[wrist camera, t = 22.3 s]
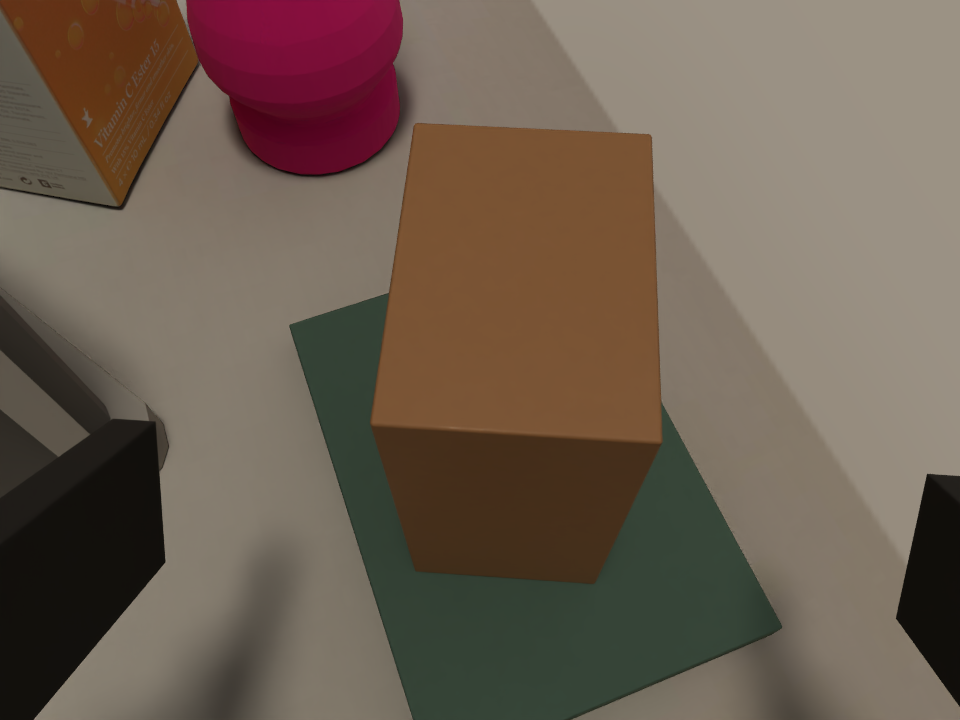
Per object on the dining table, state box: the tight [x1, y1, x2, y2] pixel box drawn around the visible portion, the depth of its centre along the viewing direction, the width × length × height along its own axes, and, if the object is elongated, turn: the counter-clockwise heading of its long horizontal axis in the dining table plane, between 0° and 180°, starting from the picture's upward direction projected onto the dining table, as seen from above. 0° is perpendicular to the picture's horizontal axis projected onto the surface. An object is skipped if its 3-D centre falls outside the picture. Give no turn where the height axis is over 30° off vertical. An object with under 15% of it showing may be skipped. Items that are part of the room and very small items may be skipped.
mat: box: [289, 293, 782, 720], centre depth 25 cm, size 14×10×1 cm
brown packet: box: [370, 123, 663, 584], centre depth 20 cm, size 5×7×10 cm
